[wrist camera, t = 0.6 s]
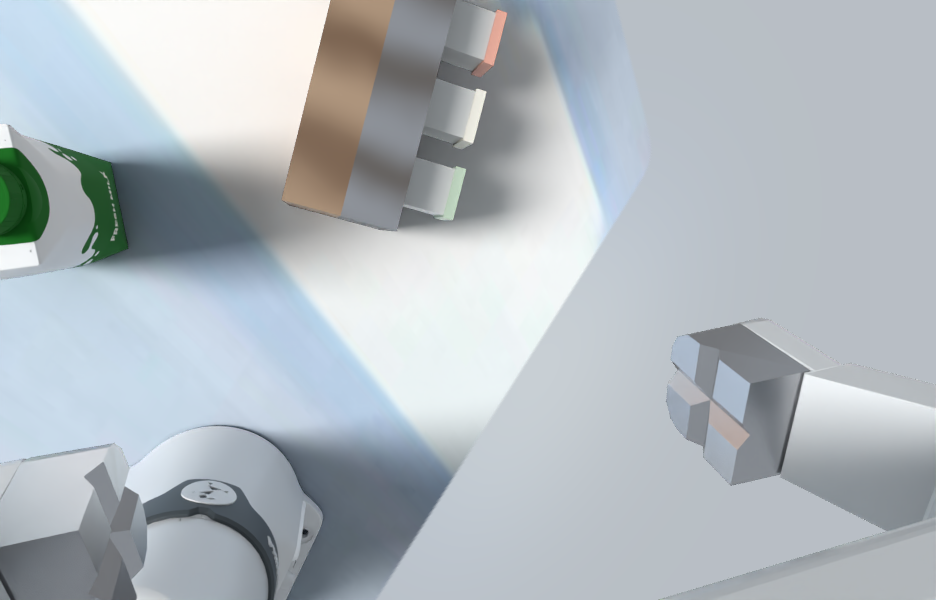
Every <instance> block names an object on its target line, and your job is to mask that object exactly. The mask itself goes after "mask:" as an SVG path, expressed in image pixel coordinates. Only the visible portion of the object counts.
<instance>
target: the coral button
mask: <svg viewBox="0 0 936 600" xmlns="http://www.w3.org/2000/svg"><path fill="white" fill-rule="evenodd" d="M506 17H507V13H506V12H503V11H501V10H498V9H497V11H496V12H492V11H490V10H487V9H485V8H482V7H479V6H477V5H474V4H471V3H469V2H466V1H464V0H456V4H455V8H454V12H453V15H452V19H451V23H450V27H449V31H448V35H447V39H446V43H445V47H444V50H443V54H442V58H441V61H444V62H447V63H450V64H453V65H455V66H458V67H461V68H464V69H467V70H470V71H472V73H471V75H474V76H477V77H482V76H483V75H484V74H485V73H486V72H487V71H488V70H489V69H490V68H492V67H493V66H494V62H495V58H496V55H497V51H498V47H499V43H500V39H501V36H502V32H503V28H504V24H505V20H506Z"/></svg>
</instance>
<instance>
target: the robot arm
mask: <svg viewBox="0 0 936 600" xmlns="http://www.w3.org/2000/svg"><path fill="white" fill-rule="evenodd" d="M671 361H672V362H673V364H674V365H675V367H676V368H677V369H678V370H677V372H676V373H675V374H674V376H673V377H672V378H671V380H670V381H669V383H668V388H667V400H666V402H667V406H668V410H669V414H670V418H671V419H672V421H673V423H674V425H675V427H676V428H677V430H678V431H679V432H680V433H681V434H682V435H683V436H684V437H685V438H686V439H687V440H690V441H692V442H694V443H697V444H699V445H702V446H703V457H704V458H705V459H706V461H707V462H708V463H709V464H710V465H711V466H712V467H713V468H714V469H715V470H716V471H717V472H718V473H719V474H720V475H721V476H722V477H723V478H724V479H725V480H726V481H727V482H728V483H729V484H730V485H731V486H732V485H736V484H740V483H745V482H749V481H753V480H758V479H762V478H767V477H771V476H776V475H780V474H781V475H780V477H781V478H783V479H785V480H787V481H789V482H791V483H793V484H795V485H797V486H799V487H801V488H803V489H805V490H807V491H809V492H811V493H813V494H815V495H816V496H819V497H820V498H822V499H825V500H826V501H828V502H830V503H833V504H834V505H836V506H838V507H840V508H842V509H844V510H846V511H848V512H850V513H852V514H854V515H856V516H858V517H860V518H862V519H864V520H866V521H868V522H870V523H872V524H874V525H876V526H878V527H880V528H882V529H884V530H886V531H887V532H883V533H880V534H877V535H873V536H870V537H866V538H863V539H860V540H857V541H853V542H850V543H847V544H843V545H840V546H836V547H833V548H830V549H827V550H823V551H820V552H816V553H813V554H810V555H807V556H803V557H800V558H797V559H793V560H790V561H786V562H783V563H780V564H776V565H773V566H770V567H766V568H763V569H760V570H756V571H753V572H750V573H746V574H743V575H740V576H736V577H733V578H730V579H727V580H723V581H720V582H717V583H713V584H709V585H706V586H703V587H700V588H696V589H693V590H690V591H686V592H683V593H679V594H676V595H673V596H669V597H666V598H663V599H659V600H936V384H932V383H928V382H924V381H920V380H916V379H912V378H908V377H904V376H900V375H896V374H892V373H888V372H884V371H880V370H876V369H872V368H868V367H864V366H860V365H856V364H852V363H848V364H843V365H842V364H840V363H839V362H837V361H835V360H834V359H832V358H831V357H829V356H827V355H826V354H824V353H823V352H821V351H819V350H818V349H816V348H815V347H813V346H811V345H810V344H808V343H807V342H805V341H803V340H802V339H800V338H798V337H797V336H795V335H794V334H792V333H791V332H789V331H788V330H786V329H784V328H783V327H781V326H780V325H778V324H776V323H775V322H773V321H772V320H769V319H763V318H758V319H754V320H749V321H745V322H741V323H737V324H733V325H730V326H725V327H720V328H716V329H711V330H706V331H702V332H697V333H692V334H687V335H682V336H678V337H677V339H676V340H675V342H674V344H673V347H672V354H671ZM322 521H323V514H322V511H321V510H320V508H319V507H318V506H317V505H316V504H315V502H313V501H312V500H311V499H310V498H309V497H308V496H307V495H306V494H305V493H304V492H303V491H302V489H301V487H300V485H299V483H298V480H297V478H296V475H295V473H294V471H293V469H292V467H291V465H290V463H289V462H288V460H287V459H286V458H285V456H284V455H283V454H282V453H281V452H280V451H279V450H278V449H277V448H276V447H275V446H274V445H273V444H271V443H270V442H269V441H267V440H266V439H264V438H262V437H260V436H259V435H256V434H254V433H252V432H249V431H246V430H243V429H239V428H234V427H227V426H207V427H200V428H195V429H191V430H188V431H185V432H182V433H180V434H177V435H175V436H173V437H171V438H169V439H167V440H166V441H164V442H162V443H161V444H160V445H158V446H157V447H156V448H154V449H153V450H152V451H151V452H150V453H149V454H148V455H146V456H145V457H144V458H143V459H142V460H141V461H139V462H138V463H137V464H135V465H134V466H132V467H129V466H128V463H127V461H126V458H125V456H124V453H123V451H122V448H120V447H119V446H118V445H116V444H115V443H113V444H107V445H101V446H95V447H89V448H84V449H78V450H72V451H66V452H60V453H55V454H49V455H43V456H37V457H31V458H29V459H19V460H14V461H9V462H4V463H0V600H286V599H287V597H288V595H289V593H290V590H291V588H292V586H293V584H294V582H295V580H296V578H297V576H298V574H299V572H300V570H301V568H302V565H303V563H304V561H305V559H306V557H307V555H308V553H309V551H310V549H311V547H312V545H313V543H314V540H315V538H316V536H317V534H318V532H319V530H320V528H321V525H322ZM303 529H306V530H307V531H308V532H307V533H306V534H302V531H303Z"/></svg>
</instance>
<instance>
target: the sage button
mask: <svg viewBox="0 0 936 600" xmlns="http://www.w3.org/2000/svg"><path fill="white" fill-rule="evenodd" d="M465 173H466V169H464V168H461V167H458V166H456V167H453V168H451V167H447V166H444V165H441V164H437V163H434V162H431V161H428V160H424V159H421V158H418V157H416V159H415V163H414V167H413V171H412V174H411V178H410V182H409V186H408V190H407V194H406V198H405V202H404V205H403V207H406V208H410V209H413V210H417V211H420V212H424V213H428V214H431V215H434V218H436V219H439V220H443V221H444V220H453V218H454V214H455V211H456V207H457V203H458V199H459V195H460V192H461V188H462V184H463V180H464V176H465Z"/></svg>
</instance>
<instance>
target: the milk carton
mask: <svg viewBox="0 0 936 600" xmlns="http://www.w3.org/2000/svg"><path fill="white" fill-rule="evenodd" d="M126 249H128V244H127V239H126V234H125V229H124V224H123V219H122V214H121V210H120V205H119V200H118V195H117V190H116V185H115V180H114V176H113V171H112V166H111V163H110V162H107V161H104V160H101V159H98V158H95V157H92V156H89V155H86V154H82V153H79V152H76V151H73V150H70V149H66V148H63V147H60V146H57V145H53V144H50V143H47V142H43V141H40V140H37V139H33V138H30V137H27V136H24V135H21V134H20V133H19V132H17V131H16V130H15V129H14V128H13V127H12V126H10V125H7V124H0V280H3V279H11V278H18V277H24V276H30V275H36V274H41V273H47V272H53V271H58V270H64V269H69V268H74V267H79V266H83V265H87V264H90V263H93V262H96V261H98V260H101V259H103V258H106V257H108V256H111V255H113V254H116V253H118V252H121V251H123V250H126Z"/></svg>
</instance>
